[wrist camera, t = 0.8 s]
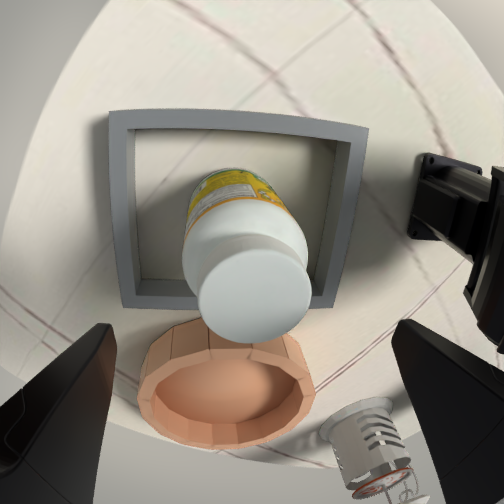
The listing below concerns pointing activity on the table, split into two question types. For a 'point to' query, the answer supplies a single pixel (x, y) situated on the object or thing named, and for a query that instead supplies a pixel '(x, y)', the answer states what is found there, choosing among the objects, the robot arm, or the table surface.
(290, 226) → the supplement bottle
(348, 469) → the french press
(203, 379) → the bowl
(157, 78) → the table surface
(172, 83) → the table surface
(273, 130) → the open rectangular frame
